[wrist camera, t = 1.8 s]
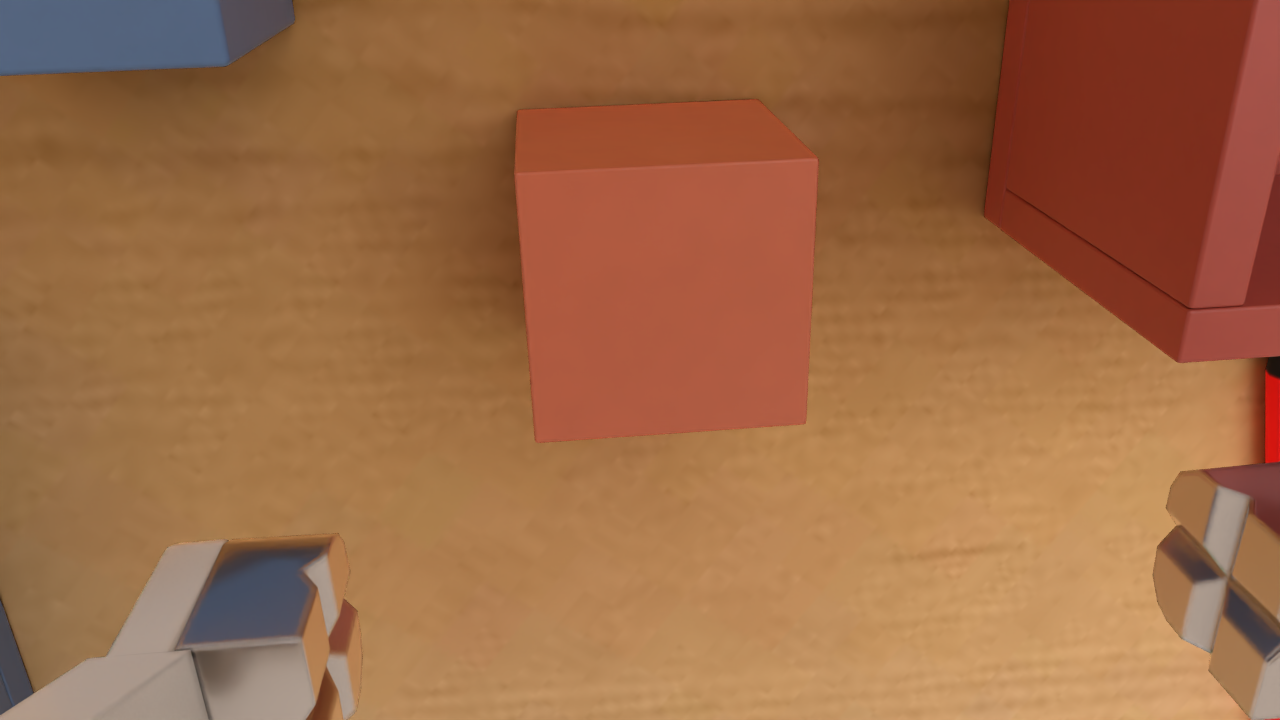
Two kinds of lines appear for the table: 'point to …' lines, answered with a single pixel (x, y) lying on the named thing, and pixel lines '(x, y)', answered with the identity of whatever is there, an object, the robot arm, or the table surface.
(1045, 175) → the red bin
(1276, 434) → the pen
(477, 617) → the table surface
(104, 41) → the blue block
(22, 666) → the blue bin
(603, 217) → the terracotta block
